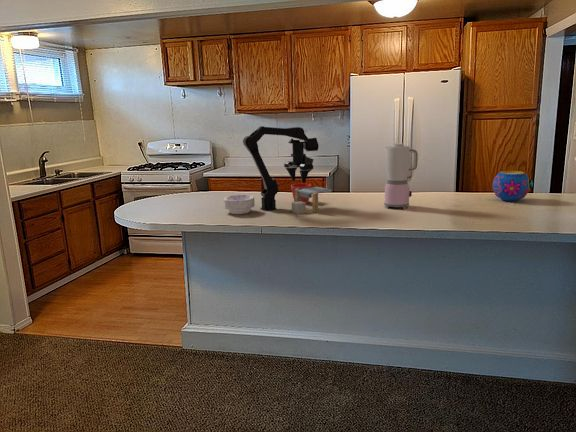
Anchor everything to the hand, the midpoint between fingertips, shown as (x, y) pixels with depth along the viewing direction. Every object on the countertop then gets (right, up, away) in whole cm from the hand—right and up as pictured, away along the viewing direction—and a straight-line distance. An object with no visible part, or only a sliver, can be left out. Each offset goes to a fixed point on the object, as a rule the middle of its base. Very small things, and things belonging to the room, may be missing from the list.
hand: (298, 182), depth 230 cm
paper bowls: (-30, -16, -7) cm, 35 cm away
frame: (+4, -15, -6) cm, 17 cm away
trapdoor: (+8, -7, -5) cm, 12 cm away
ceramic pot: (+112, -10, +3) cm, 112 cm away
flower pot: (+2, -10, +13) cm, 17 cm away
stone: (0, -16, -10) cm, 19 cm away
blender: (+51, -13, -5) cm, 53 cm away
